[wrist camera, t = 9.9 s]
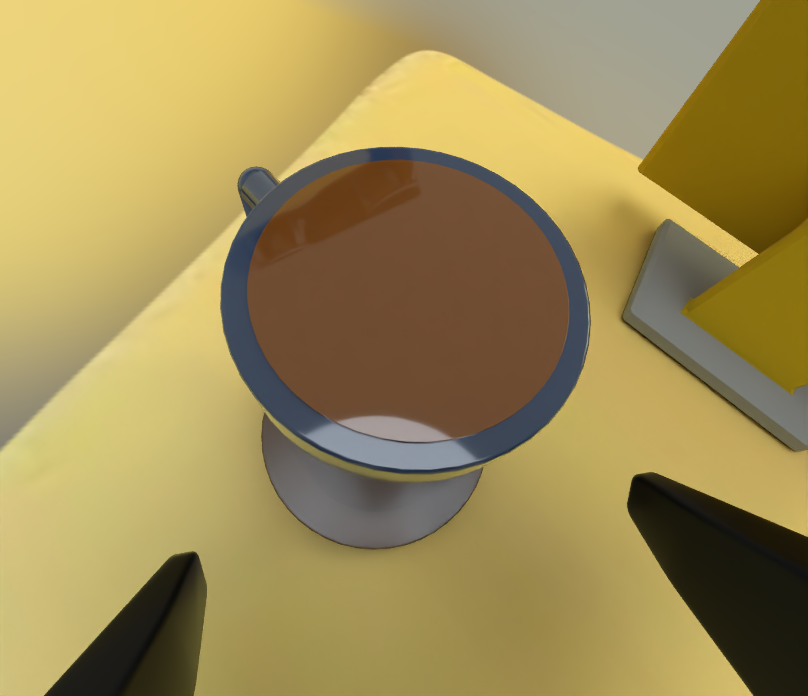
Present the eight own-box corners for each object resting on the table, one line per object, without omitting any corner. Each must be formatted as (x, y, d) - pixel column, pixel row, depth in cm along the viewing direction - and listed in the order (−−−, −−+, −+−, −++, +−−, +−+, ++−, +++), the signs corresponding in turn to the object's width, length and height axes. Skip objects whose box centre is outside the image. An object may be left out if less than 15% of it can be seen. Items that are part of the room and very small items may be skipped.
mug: (490, 434, 20) (663, 308, 9) (367, 551, 17) (397, 578, 6) (348, 281, 22) (346, 30, 11) (222, 366, 20) (60, 152, 9)
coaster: (415, 599, 18) (419, 601, 17) (216, 465, 19) (210, 463, 18) (517, 397, 22) (522, 392, 21) (346, 297, 23) (346, 289, 22)
